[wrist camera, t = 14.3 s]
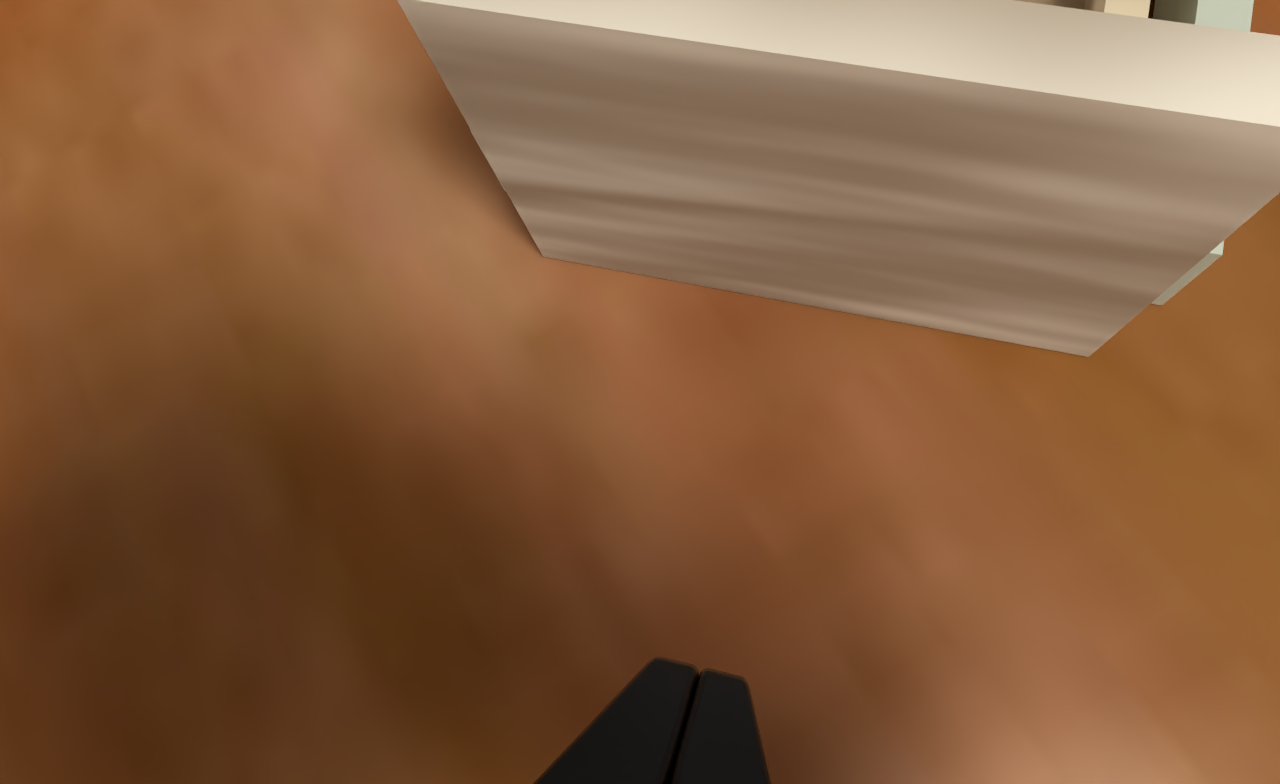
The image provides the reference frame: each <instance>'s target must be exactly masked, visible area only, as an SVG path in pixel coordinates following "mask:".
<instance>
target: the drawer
mask: <svg viewBox="0 0 1280 784" xmlns="http://www.w3.org/2000/svg"><path fill="white" fill-rule="evenodd" d="M397 1H398V3H399V5H400V6H401V8H402V10H403V12H404V13H405V15H406V17H407V19H408V20H409V22H410V24H411V26H412V27H413V29H414V31H415V33H416V34H417V36H418V38H419V40H420V42H421V43H422V45H423V47H424V49H425V50H426V52H427V54H428V56H429V57H430V59H431V61H432V63H433V64H434V66H435V68H436V70H437V71H438V73H439V75H440V77H441V78H442V80H443V82H444V84H445V85H446V87H447V89H448V91H449V92H450V94H451V96H452V98H453V99H454V101H455V103H456V105H457V106H458V108H459V110H460V112H461V113H462V115H463V117H464V119H465V120H466V122H467V124H468V126H469V127H470V129H471V131H472V133H473V134H474V136H475V138H476V140H477V142H478V143H479V145H480V147H481V149H482V150H483V152H484V154H485V156H486V157H487V159H488V161H489V163H490V164H491V166H492V168H493V170H494V171H495V173H496V175H497V177H498V178H499V180H500V182H501V184H502V185H503V187H504V189H505V191H506V192H507V194H508V196H509V198H510V199H511V201H512V203H513V205H514V206H515V208H516V210H517V212H518V213H519V215H520V217H521V219H522V220H523V222H524V224H525V226H526V227H527V229H528V231H529V233H530V234H531V236H532V238H533V240H534V242H535V243H536V245H537V247H538V249H539V250H540V252H541V254H542V256H543V257H547V258H552V259H557V260H563V261H568V262H574V263H579V264H585V265H590V266H596V267H601V268H607V269H612V270H617V271H623V272H628V273H634V274H639V275H645V276H650V277H656V278H661V279H666V280H672V281H677V282H683V283H688V284H694V285H699V286H705V287H710V288H715V289H721V290H726V291H732V292H737V293H743V294H748V295H754V296H759V297H764V298H770V299H775V300H781V301H786V302H792V303H797V304H803V305H808V306H814V307H819V308H824V309H830V310H835V311H841V312H846V313H852V314H857V315H863V316H868V317H873V318H879V319H884V320H890V321H895V322H901V323H906V324H912V325H917V326H922V327H928V328H933V329H939V330H944V331H950V332H955V333H961V334H966V335H972V336H977V337H982V338H988V339H993V340H999V341H1004V342H1010V343H1015V344H1021V345H1026V346H1031V347H1037V348H1042V349H1048V350H1053V351H1059V352H1064V353H1070V354H1075V355H1080V356H1086V357H1089V356H1090V355H1091V354H1092V353H1094V352H1095V351H1096V350H1097V349H1098V348H1099V347H1101V346H1102V345H1103V344H1104V343H1105V342H1106V341H1108V340H1109V339H1110V338H1111V337H1112V336H1113V335H1115V334H1116V333H1117V332H1118V331H1119V330H1120V329H1121V328H1123V327H1124V326H1125V325H1126V324H1127V323H1128V322H1130V321H1131V320H1132V319H1133V318H1134V317H1135V316H1137V315H1138V314H1139V313H1140V312H1141V311H1142V310H1144V309H1145V308H1146V307H1147V306H1148V305H1149V304H1151V303H1152V302H1153V301H1154V300H1155V299H1156V298H1157V297H1159V296H1160V295H1161V294H1162V293H1163V292H1164V291H1166V290H1167V289H1168V288H1169V287H1170V286H1171V285H1173V284H1174V283H1175V282H1176V281H1177V280H1178V279H1180V278H1181V277H1182V276H1183V275H1184V274H1185V273H1187V272H1188V271H1189V270H1190V269H1191V268H1192V267H1194V266H1195V265H1196V264H1197V263H1198V262H1199V261H1200V260H1202V259H1203V258H1204V257H1205V256H1206V255H1207V254H1209V253H1210V252H1211V251H1212V250H1213V249H1214V248H1216V247H1217V246H1218V245H1219V244H1220V243H1221V242H1223V241H1224V240H1225V239H1226V238H1227V237H1228V236H1230V235H1231V234H1232V233H1233V232H1234V231H1235V230H1236V229H1238V228H1239V227H1240V226H1241V225H1242V224H1243V223H1245V222H1246V221H1247V220H1248V219H1249V218H1250V217H1252V216H1253V215H1254V214H1255V213H1256V212H1257V211H1259V210H1260V209H1261V208H1262V207H1263V206H1264V205H1266V204H1267V203H1268V202H1269V201H1270V200H1271V199H1273V198H1274V197H1275V196H1276V195H1277V194H1278V193H1279V192H1280V36H1278V35H1270V34H1263V33H1255V32H1248V31H1240V30H1233V29H1225V28H1218V27H1210V26H1203V25H1195V24H1188V23H1180V22H1173V21H1165V20H1158V19H1150V18H1148V14H1149V7H1150V0H397Z"/></svg>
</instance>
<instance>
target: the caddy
mask: <svg viewBox="0 0 1280 784" xmlns="http://www.w3.org/2000/svg"><path fill="white" fill-rule="evenodd" d="M1253 2H1254V0H1155V6H1154V12H1153V19H1158V20H1165V21H1173V22H1180V23H1188V24H1195V25H1203V26H1210V27H1218V28H1225V29H1233V30H1240V31H1248V32H1250V26H1251V18H1252V10H1253ZM470 131H471V129H470ZM471 133H472V131H471ZM472 135H473V136H474V134H473V133H472ZM474 138H475V136H474ZM475 140H476V138H475ZM476 142H477V140H476ZM477 143H478V142H477ZM478 145H479V143H478ZM479 147H480V145H479ZM480 149H481V147H480ZM481 150H482V149H481ZM482 152H483V150H482ZM483 154H484V152H483ZM484 156H485V154H484ZM485 157H486V156H485ZM486 159H487V157H486ZM487 161H488V159H487ZM488 163H489V161H488ZM489 164H490V163H489ZM490 166H491V164H490ZM491 168H492V166H491ZM492 170H493V168H492ZM493 171H494V170H493ZM494 173H495V171H494ZM495 175H496V173H495ZM496 177H497V175H496ZM497 178H498V177H497ZM498 180H499V178H498ZM499 182H500V180H499ZM500 184H501V182H500ZM501 185H502V184H501ZM502 187H503V185H502ZM503 189H504V187H503ZM504 191H505V189H504ZM1223 245H1224V241H1223V242H1221V243H1220V244H1219V245H1218V246H1217V247H1216V248H1214V249H1213V250H1212V251H1211V252H1210V253H1209V254H1207V255H1206V256H1205V257H1204V258H1203V259H1202V260H1200V261H1199V262H1198V263H1197V264H1196V265H1195V266H1194V267H1192V268H1191V269H1190V270H1189V271H1188V272H1187V273H1185V274H1184V275H1183V276H1182V277H1181V278H1180V279H1178V280H1177V281H1176V282H1175V283H1174V284H1173V285H1171V286H1170V287H1169V288H1168V289H1167V290H1166V291H1164V292H1163V293H1162V294H1161V295H1160V296H1159V297H1157V298H1156V299H1155V300H1154V301H1153V302H1152V303H1151V304H1156V305H1163V304H1164V303H1165V302H1166V301H1168V300H1169V299H1170V298H1171V297H1172V296H1174V295H1175V294H1176V293H1177V292H1178V291H1180V290H1181V289H1182V288H1183V287H1184V286H1186V285H1187V284H1188V283H1189V282H1190V281H1192V280H1193V279H1194V278H1195V277H1196V276H1198V275H1199V274H1200V273H1201V272H1202V271H1204V270H1205V269H1206V268H1207V267H1208V266H1210V265H1211V264H1212V263H1213V262H1214V261H1216V260H1217V259H1218V258H1219V257H1220V256H1222V253H1223Z"/></svg>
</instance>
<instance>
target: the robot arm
mask: <svg viewBox="0 0 1280 784" xmlns="http://www.w3.org/2000/svg"><path fill="white" fill-rule="evenodd" d="M533 784H772V781H771V777H770V773H769V768H768V764H767V760H766V756H765V751H764V747H763V743H762V739H761V734H760V730H759V726H758V722H757V718H756V713H755V709H754V705H753V701H752V696H751V692H750V688H749V685H748V683H747V681H746V680H745V679H744V678H743V677H741V676H738V675H734V674H730V673H726V672H721V671H717V670H713V669H704V670H702V671H701V672H700V674H699V671H698V669H697V668H696V667H695V666H694V665H692V664H689V663H684V662H680V661H676V660H672V659H668V658H664V657H656V658H653V659H652V660H651V661H649V662H648V663H647V664H646V665H645V666H644V667H643V668H642V669H641V671H640V672H639V673H638V674H637V675H636V676H635V677H634V678H633V679H632V680H631V681H630V682H629V683H628V684H627V685H626V686H625V687H624V688H623V689H622V691H621V692H620V693H619V694H618V695H617V696H616V697H615V698H614V699H613V700H612V701H611V702H610V703H609V704H608V705H607V706H606V707H605V708H604V709H603V711H602V712H601V713H600V714H599V715H598V716H597V717H596V718H595V719H594V720H593V721H592V722H591V723H590V724H589V725H588V726H587V727H586V728H585V729H584V731H583V732H582V733H581V734H580V735H579V736H578V737H577V738H576V739H575V740H574V741H573V742H572V743H571V744H570V745H569V746H568V747H567V748H566V749H565V751H564V752H563V753H562V754H561V755H560V756H559V757H558V758H557V759H556V760H555V761H554V762H553V763H552V764H551V765H550V766H549V767H548V768H547V769H546V771H545V772H544V773H543V774H542V775H541V776H540V777H539V778H538V779H537V780H536V781H535V782H534V783H533Z"/></svg>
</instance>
